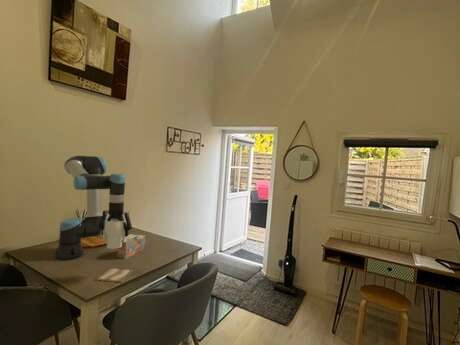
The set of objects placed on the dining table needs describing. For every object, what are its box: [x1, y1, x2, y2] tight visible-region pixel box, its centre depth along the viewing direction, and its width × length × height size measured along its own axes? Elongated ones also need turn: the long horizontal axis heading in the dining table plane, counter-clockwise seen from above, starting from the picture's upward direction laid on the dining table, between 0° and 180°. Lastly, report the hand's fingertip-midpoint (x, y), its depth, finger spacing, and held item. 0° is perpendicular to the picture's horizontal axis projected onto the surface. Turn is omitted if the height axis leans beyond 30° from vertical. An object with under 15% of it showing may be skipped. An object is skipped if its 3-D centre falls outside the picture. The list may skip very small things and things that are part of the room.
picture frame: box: [94, 267, 134, 283], centre depth 139 cm, size 14×14×1 cm
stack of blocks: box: [117, 233, 147, 260], centre depth 172 cm, size 21×6×12 cm, turn 164°
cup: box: [105, 218, 126, 250], centre depth 139 cm, size 11×11×15 cm
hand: (114, 241), depth 139 cm, fingers closed on cup, 10 cm apart
